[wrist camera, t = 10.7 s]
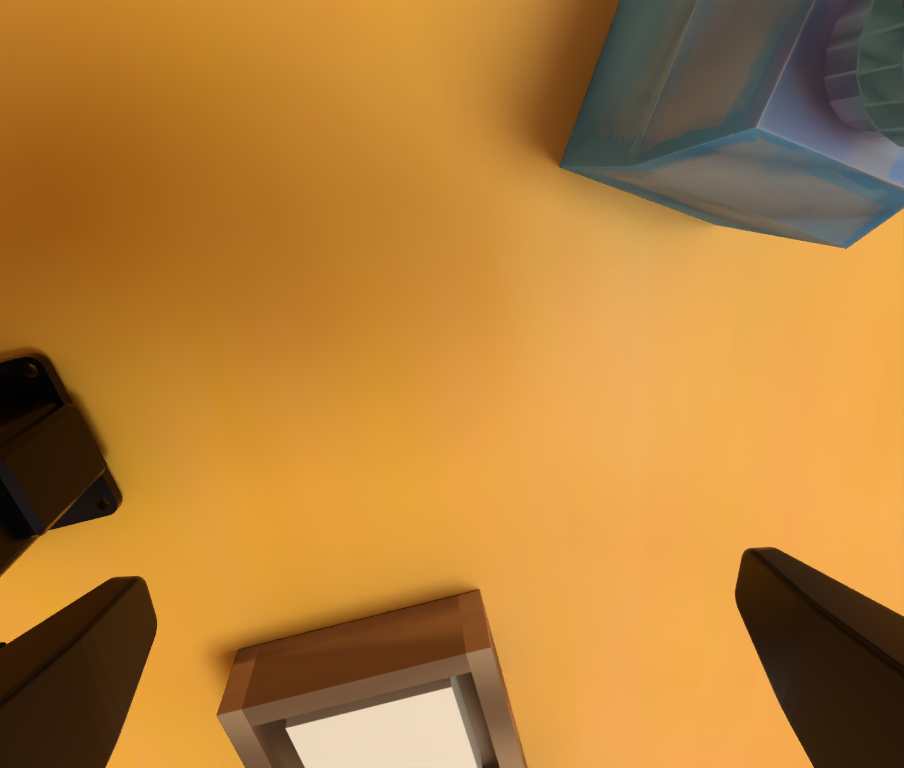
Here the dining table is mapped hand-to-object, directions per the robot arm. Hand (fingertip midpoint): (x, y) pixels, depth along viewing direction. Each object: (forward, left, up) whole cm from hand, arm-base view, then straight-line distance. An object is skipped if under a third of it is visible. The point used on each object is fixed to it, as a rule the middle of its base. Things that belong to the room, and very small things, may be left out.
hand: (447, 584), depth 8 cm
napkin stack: (-6, -17, -12) cm, 22 cm away
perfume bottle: (+10, +6, -13) cm, 18 cm away
